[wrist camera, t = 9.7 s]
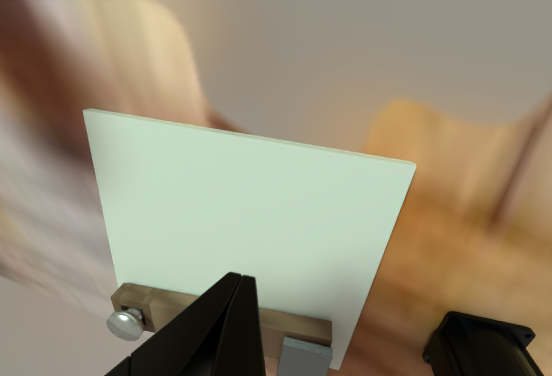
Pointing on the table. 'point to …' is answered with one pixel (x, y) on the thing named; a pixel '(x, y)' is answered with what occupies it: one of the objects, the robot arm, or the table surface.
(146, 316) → the link
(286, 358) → the keeper
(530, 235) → the table surface
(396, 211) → the base plate
